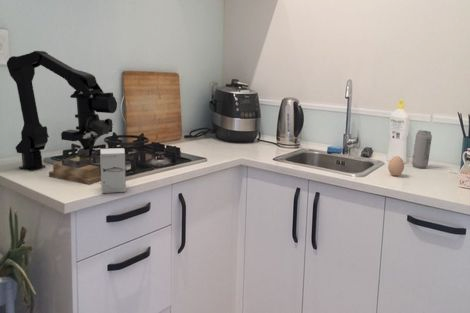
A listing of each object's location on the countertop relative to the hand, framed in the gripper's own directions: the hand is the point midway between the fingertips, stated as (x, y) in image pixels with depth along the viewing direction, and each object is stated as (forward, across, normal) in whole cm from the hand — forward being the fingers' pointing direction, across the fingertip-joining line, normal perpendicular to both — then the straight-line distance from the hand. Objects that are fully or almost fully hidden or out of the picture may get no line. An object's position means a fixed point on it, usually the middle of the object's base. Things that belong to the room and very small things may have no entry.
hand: (89, 155), depth 147 cm
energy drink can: (+9, +76, -106) cm, 130 cm away
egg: (+8, +56, -98) cm, 113 cm away
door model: (+6, -2, 0) cm, 7 cm away
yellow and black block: (+2, -5, 0) cm, 5 cm away
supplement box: (+6, -10, -19) cm, 23 cm away
